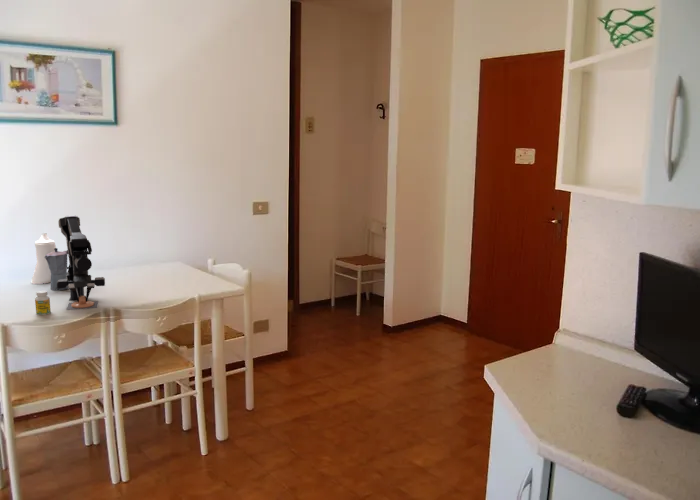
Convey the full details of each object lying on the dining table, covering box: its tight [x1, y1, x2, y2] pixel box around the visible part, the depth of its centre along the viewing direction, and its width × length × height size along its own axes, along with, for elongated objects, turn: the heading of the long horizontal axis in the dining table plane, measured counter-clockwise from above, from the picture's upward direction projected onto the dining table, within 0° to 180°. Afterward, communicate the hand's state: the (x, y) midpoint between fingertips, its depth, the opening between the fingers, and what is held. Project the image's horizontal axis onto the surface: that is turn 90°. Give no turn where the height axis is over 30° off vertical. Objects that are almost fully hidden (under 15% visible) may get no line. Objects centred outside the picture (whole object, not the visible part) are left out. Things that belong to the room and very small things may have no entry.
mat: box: [66, 300, 99, 311], centre depth 260 cm, size 12×12×1 cm
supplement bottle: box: [34, 290, 52, 316], centre depth 247 cm, size 5×5×10 cm
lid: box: [71, 295, 94, 308], centre depth 260 cm, size 9×9×4 cm
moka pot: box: [44, 247, 70, 291], centre depth 290 cm, size 10×15×20 cm, turn 158°
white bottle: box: [30, 232, 57, 285], centre depth 301 cm, size 12×11×25 cm
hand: (82, 301), depth 260 cm, fingers closed on lid, 3 cm apart
